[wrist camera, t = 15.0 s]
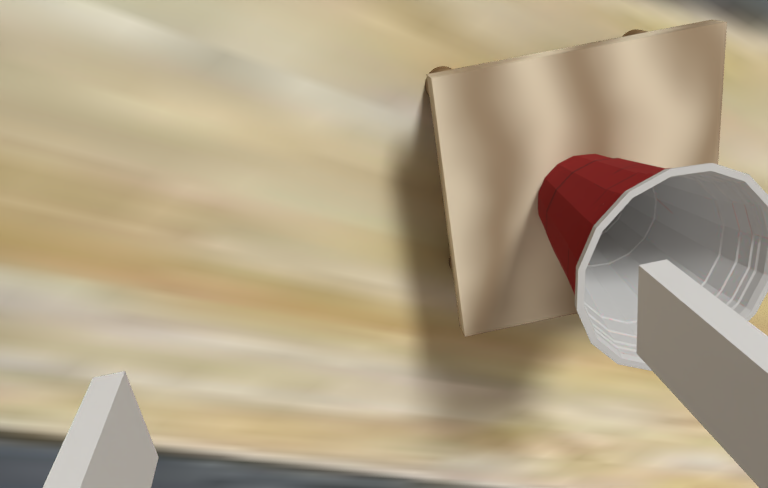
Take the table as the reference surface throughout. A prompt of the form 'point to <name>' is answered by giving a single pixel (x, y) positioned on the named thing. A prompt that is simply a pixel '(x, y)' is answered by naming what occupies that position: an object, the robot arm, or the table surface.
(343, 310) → the table surface
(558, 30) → the table surface
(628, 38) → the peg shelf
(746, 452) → the robot arm
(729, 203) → the plastic cup
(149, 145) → the table surface
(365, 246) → the table surface
